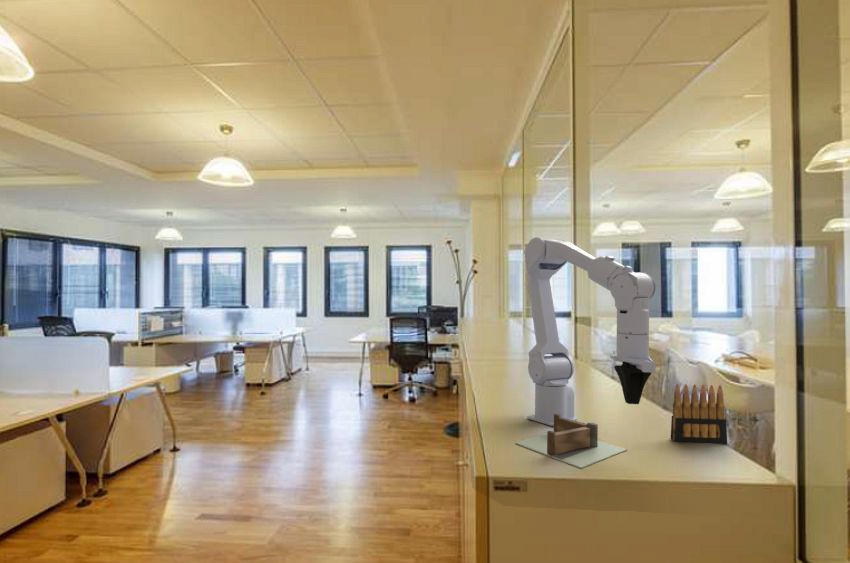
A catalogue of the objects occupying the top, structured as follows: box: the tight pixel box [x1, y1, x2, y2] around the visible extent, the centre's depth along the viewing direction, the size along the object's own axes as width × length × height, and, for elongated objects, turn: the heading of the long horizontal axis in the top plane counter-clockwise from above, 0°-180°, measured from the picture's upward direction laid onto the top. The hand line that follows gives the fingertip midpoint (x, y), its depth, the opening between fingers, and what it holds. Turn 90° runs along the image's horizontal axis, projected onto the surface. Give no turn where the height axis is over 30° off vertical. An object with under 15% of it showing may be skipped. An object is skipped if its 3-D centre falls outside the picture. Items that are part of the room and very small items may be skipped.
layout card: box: [514, 433, 628, 469], centre depth 85 cm, size 16×15×1 cm
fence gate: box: [547, 427, 590, 455], centre depth 82 cm, size 11×1×4 cm, turn 119°
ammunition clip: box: [670, 383, 728, 445], centre depth 90 cm, size 11×2×12 cm, turn 88°
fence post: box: [553, 414, 599, 448], centre depth 89 cm, size 2×10×4 cm, turn 37°
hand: (632, 403), depth 83 cm, fingers closed
